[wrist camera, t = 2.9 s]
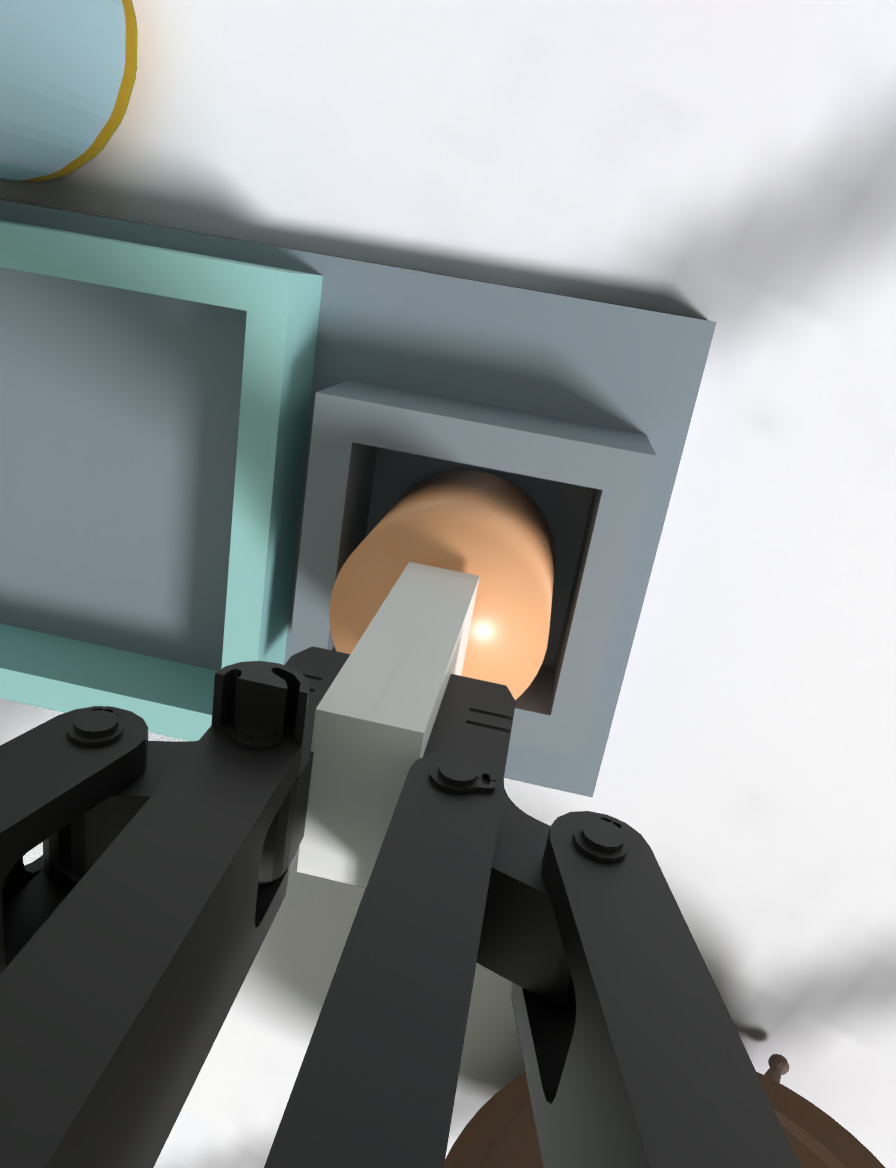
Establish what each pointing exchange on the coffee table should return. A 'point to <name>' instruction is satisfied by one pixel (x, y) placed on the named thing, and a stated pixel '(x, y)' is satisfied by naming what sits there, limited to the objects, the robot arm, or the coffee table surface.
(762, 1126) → the robot arm
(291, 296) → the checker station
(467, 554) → the button
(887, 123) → the coffee table surface
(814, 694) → the coffee table surface
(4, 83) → the bottle
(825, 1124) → the alarm clock
